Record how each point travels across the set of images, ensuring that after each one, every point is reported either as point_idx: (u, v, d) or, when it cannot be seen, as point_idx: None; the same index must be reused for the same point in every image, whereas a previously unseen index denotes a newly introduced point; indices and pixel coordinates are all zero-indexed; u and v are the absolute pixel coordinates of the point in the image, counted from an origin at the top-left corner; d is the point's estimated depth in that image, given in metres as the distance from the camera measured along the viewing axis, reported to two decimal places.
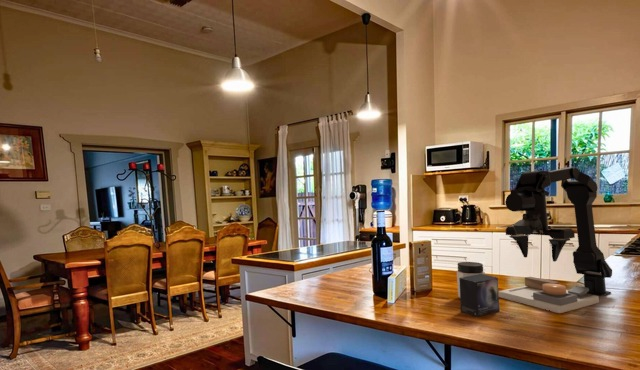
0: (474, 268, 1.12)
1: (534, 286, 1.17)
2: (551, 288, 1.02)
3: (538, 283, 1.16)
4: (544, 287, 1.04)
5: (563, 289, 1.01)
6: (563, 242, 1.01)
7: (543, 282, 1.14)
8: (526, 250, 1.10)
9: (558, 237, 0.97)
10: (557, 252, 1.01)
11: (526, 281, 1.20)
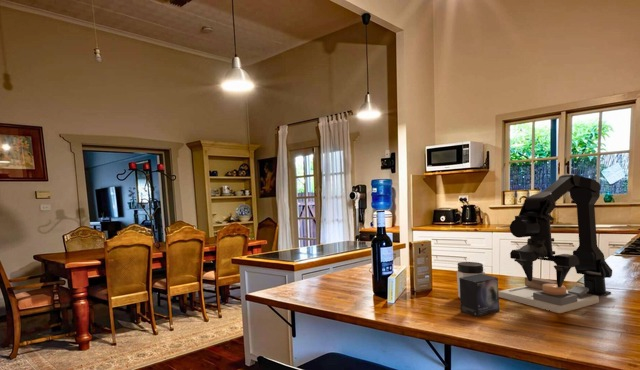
0: (474, 268, 1.12)
1: (534, 286, 1.17)
2: (551, 288, 1.02)
3: (538, 283, 1.16)
4: (544, 287, 1.04)
5: (563, 289, 1.01)
6: (568, 268, 1.02)
7: (543, 282, 1.14)
8: (531, 274, 1.11)
9: (563, 264, 0.98)
10: (562, 278, 1.02)
11: (526, 281, 1.20)
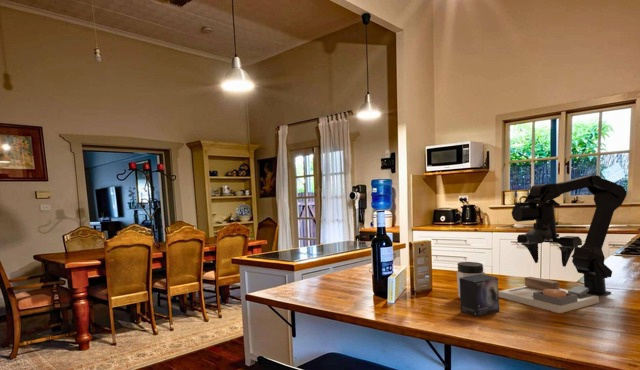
0: (474, 268, 1.12)
1: (534, 286, 1.17)
2: (551, 294, 1.02)
3: (538, 283, 1.16)
4: (544, 293, 1.04)
5: (563, 295, 1.01)
6: (571, 249, 1.11)
7: (543, 282, 1.14)
8: (537, 256, 1.20)
9: (568, 245, 1.08)
10: (566, 258, 1.11)
11: (526, 281, 1.20)
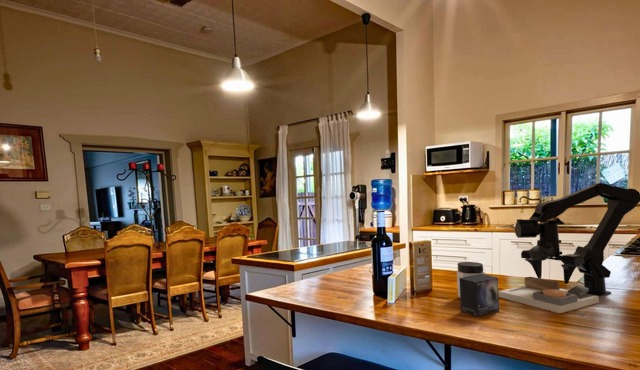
0: (474, 268, 1.12)
1: (534, 286, 1.17)
2: (551, 294, 1.02)
3: (538, 283, 1.16)
4: (544, 293, 1.04)
5: (563, 295, 1.01)
6: (574, 267, 1.14)
7: (543, 282, 1.14)
8: (540, 272, 1.23)
9: (569, 263, 1.11)
10: (568, 276, 1.14)
11: (526, 281, 1.20)
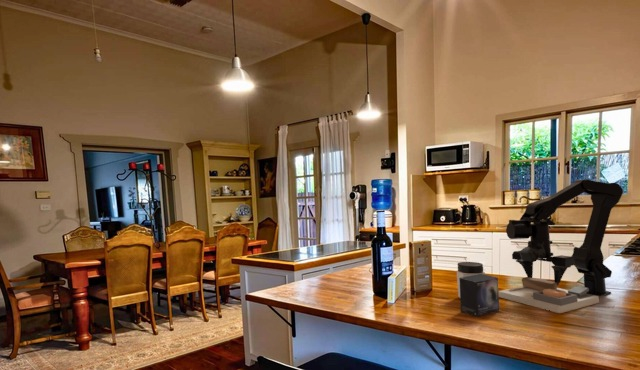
0: (474, 268, 1.12)
1: (531, 287, 1.17)
2: (551, 294, 1.02)
3: (535, 283, 1.15)
4: (544, 293, 1.04)
5: (563, 295, 1.01)
6: (564, 268, 1.12)
7: (540, 283, 1.14)
8: (531, 273, 1.21)
9: (560, 265, 1.09)
10: (559, 277, 1.12)
11: (523, 282, 1.19)
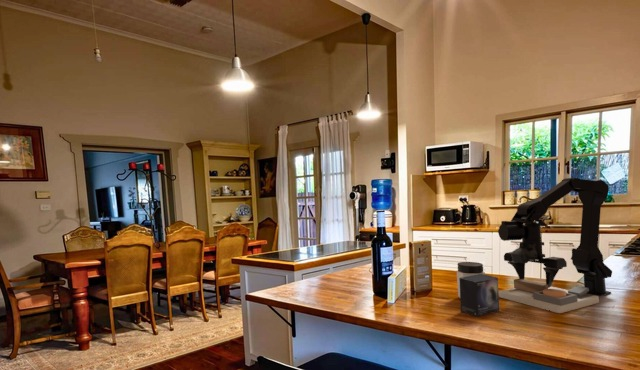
0: (474, 268, 1.12)
1: (523, 288, 1.15)
2: (551, 294, 1.02)
3: (526, 285, 1.14)
4: (544, 293, 1.04)
5: (563, 295, 1.01)
6: (556, 270, 1.10)
7: (532, 284, 1.12)
8: (523, 275, 1.19)
9: (551, 266, 1.07)
10: (551, 279, 1.10)
11: (515, 283, 1.17)
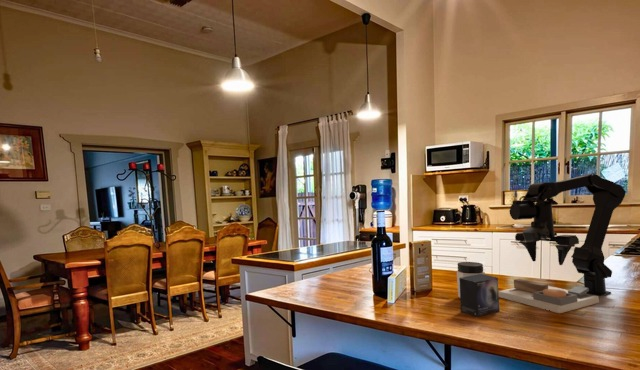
0: (474, 268, 1.12)
1: (523, 288, 1.15)
2: (551, 294, 1.02)
3: (526, 285, 1.14)
4: (544, 293, 1.04)
5: (563, 295, 1.01)
6: (568, 248, 1.11)
7: (532, 284, 1.12)
8: (534, 254, 1.20)
9: (564, 243, 1.08)
10: (563, 257, 1.11)
11: (515, 283, 1.17)
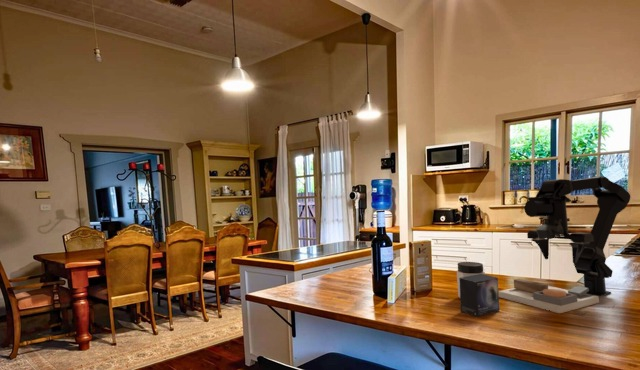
0: (474, 268, 1.12)
1: (523, 288, 1.15)
2: (551, 294, 1.02)
3: (526, 285, 1.14)
4: (544, 293, 1.04)
5: (563, 295, 1.01)
6: (583, 245, 1.09)
7: (532, 284, 1.12)
8: (547, 252, 1.19)
9: (579, 241, 1.06)
10: (577, 254, 1.09)
11: (515, 283, 1.17)
